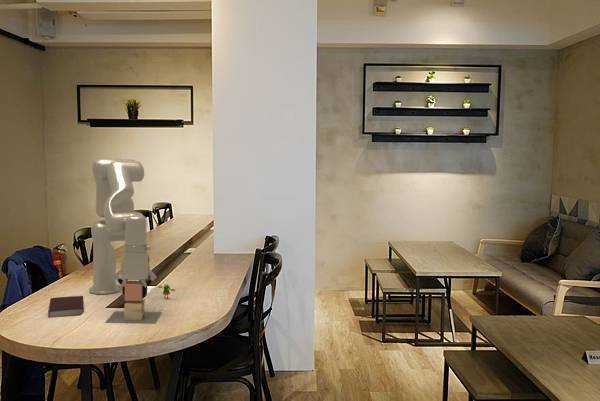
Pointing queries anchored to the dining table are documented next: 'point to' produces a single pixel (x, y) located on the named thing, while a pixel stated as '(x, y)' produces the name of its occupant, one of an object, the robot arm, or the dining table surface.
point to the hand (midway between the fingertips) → (134, 296)
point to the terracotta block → (133, 291)
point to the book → (66, 306)
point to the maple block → (134, 310)
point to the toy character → (166, 290)
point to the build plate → (147, 319)
